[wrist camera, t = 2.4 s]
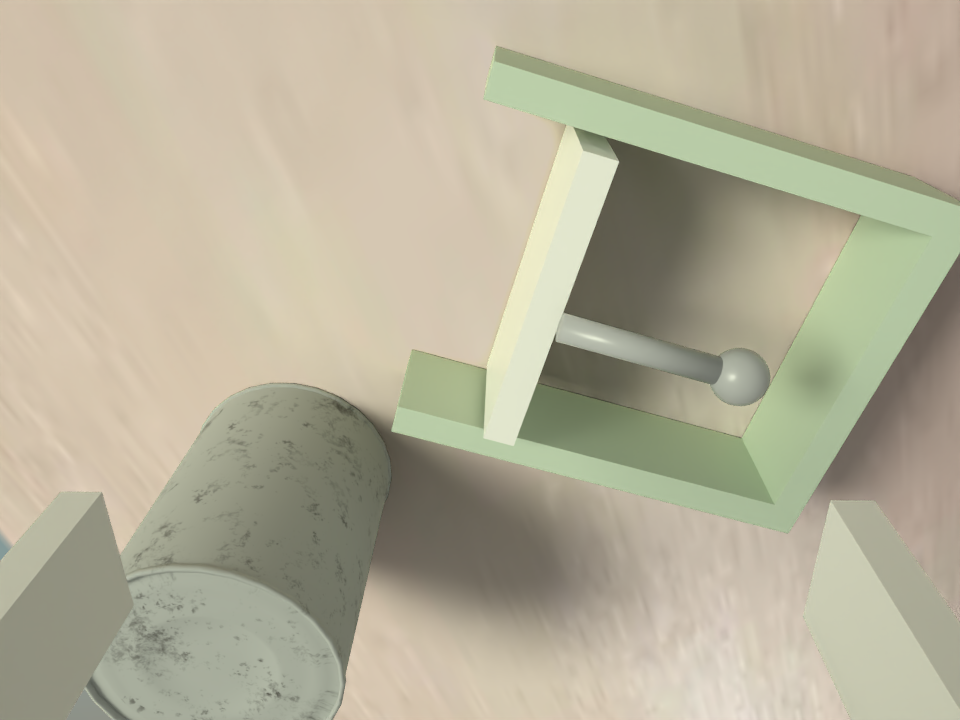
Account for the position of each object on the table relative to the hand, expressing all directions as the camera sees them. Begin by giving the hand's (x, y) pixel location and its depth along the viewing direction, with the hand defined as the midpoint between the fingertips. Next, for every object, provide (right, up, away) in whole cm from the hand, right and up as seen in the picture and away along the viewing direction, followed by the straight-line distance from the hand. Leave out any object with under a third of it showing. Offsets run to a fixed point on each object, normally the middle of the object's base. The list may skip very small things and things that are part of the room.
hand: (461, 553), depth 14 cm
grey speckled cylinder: (-9, -2, +24) cm, 25 cm away
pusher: (+6, +7, +18) cm, 20 cm away
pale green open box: (+7, +7, +18) cm, 21 cm away
